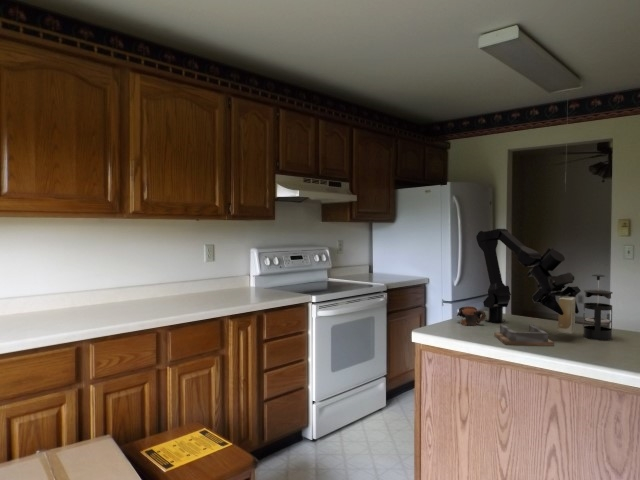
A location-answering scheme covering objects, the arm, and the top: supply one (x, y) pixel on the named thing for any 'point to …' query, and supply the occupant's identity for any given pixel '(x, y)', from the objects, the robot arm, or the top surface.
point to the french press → (597, 315)
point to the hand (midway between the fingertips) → (570, 313)
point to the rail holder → (524, 337)
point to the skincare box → (567, 315)
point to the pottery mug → (471, 315)
